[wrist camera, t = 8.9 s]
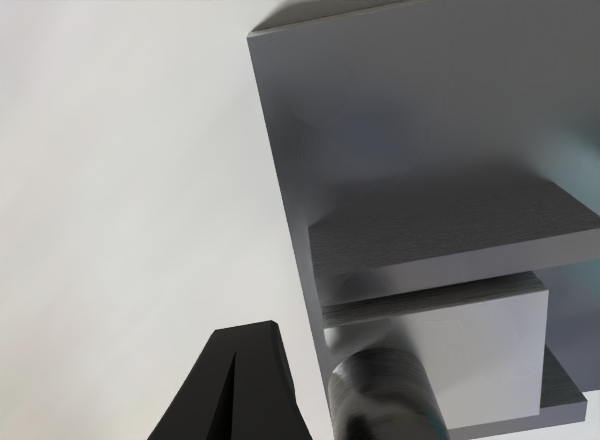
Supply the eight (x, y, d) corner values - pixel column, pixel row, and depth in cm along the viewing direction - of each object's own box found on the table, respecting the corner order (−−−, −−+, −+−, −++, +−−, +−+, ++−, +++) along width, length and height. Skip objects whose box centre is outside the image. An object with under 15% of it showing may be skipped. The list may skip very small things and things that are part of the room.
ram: (497, 344, 14) (612, 537, 9) (330, 372, 15) (357, 576, 10) (498, 233, 13) (643, 399, 8) (308, 266, 13) (327, 450, 8)
